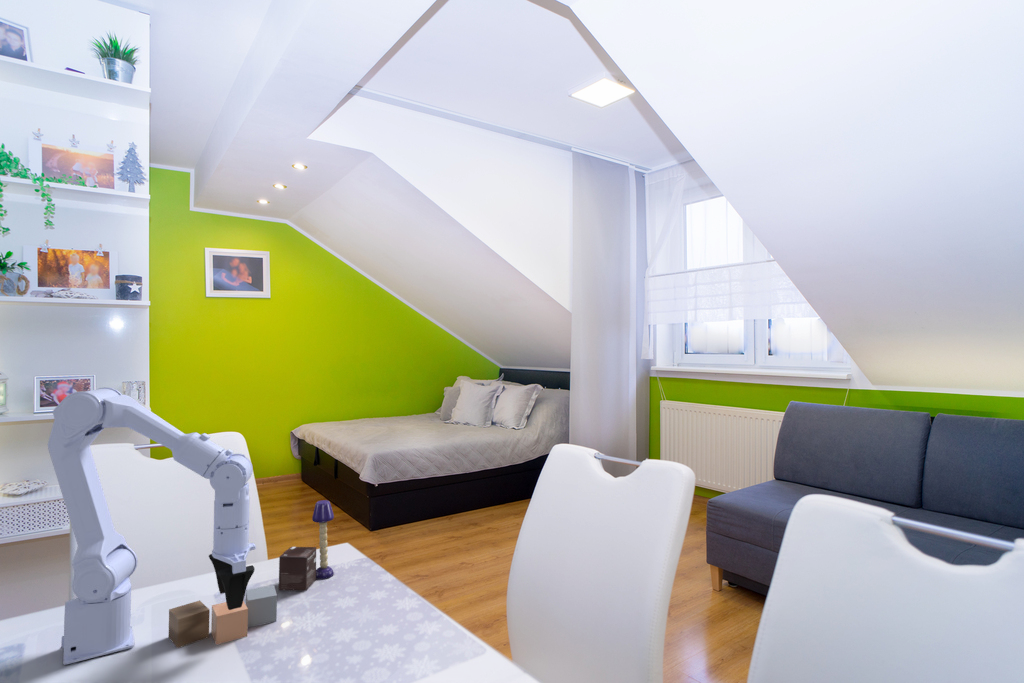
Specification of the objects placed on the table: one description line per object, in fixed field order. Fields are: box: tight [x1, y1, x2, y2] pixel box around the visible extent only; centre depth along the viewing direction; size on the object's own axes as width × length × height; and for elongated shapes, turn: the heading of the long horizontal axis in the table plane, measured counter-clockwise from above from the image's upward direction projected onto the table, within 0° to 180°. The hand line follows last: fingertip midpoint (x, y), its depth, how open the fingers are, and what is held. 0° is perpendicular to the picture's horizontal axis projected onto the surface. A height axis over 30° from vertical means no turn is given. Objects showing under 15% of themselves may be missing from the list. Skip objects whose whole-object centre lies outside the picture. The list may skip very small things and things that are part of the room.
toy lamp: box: [311, 499, 335, 580], centre depth 127 cm, size 5×5×17 cm
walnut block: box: [168, 600, 210, 649], centre depth 100 cm, size 5×5×5 cm
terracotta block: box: [210, 600, 249, 645], centre depth 101 cm, size 5×5×5 cm
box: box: [278, 546, 317, 592], centre depth 122 cm, size 6×6×7 cm
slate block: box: [245, 584, 278, 628], centre depth 107 cm, size 5×5×5 cm
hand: (230, 599), depth 101 cm, fingers open, 7 cm apart
